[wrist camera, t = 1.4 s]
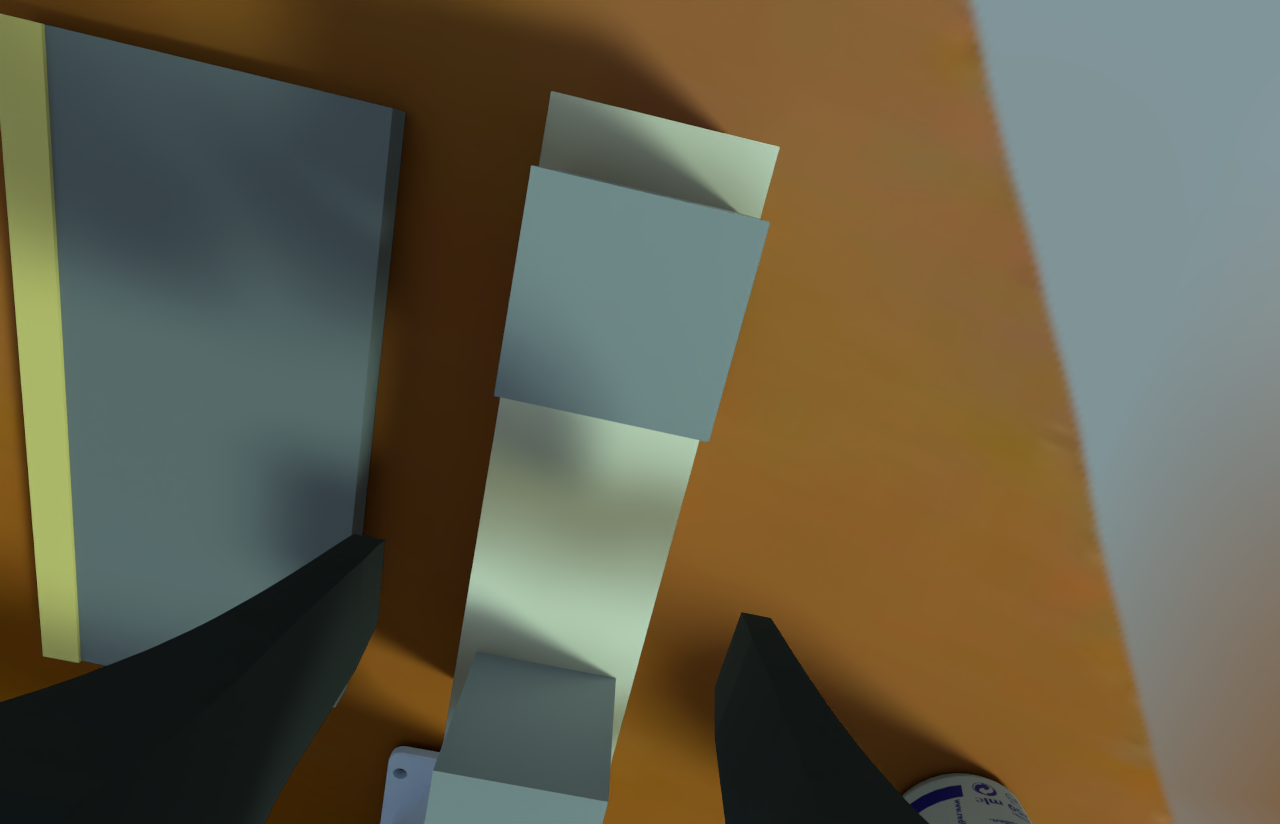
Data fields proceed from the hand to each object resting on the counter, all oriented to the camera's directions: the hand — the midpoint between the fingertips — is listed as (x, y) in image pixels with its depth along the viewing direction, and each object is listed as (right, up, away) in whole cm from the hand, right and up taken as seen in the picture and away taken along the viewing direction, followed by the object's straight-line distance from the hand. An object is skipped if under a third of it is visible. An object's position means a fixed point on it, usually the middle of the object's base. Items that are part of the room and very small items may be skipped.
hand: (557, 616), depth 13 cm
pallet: (0, +2, +8) cm, 9 cm away
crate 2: (+1, +7, +2) cm, 8 cm away
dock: (-12, +4, +8) cm, 15 cm away
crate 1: (-1, -5, +6) cm, 8 cm away
